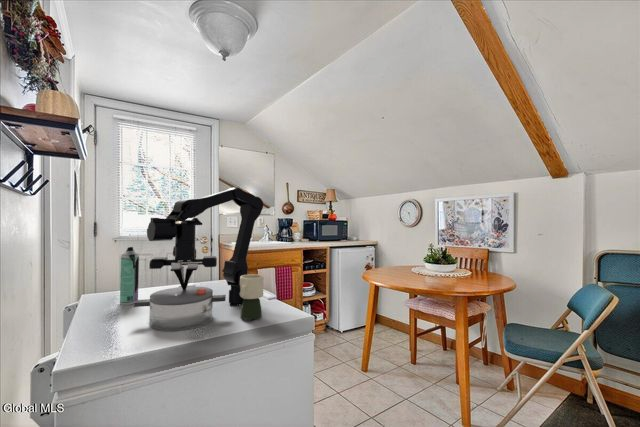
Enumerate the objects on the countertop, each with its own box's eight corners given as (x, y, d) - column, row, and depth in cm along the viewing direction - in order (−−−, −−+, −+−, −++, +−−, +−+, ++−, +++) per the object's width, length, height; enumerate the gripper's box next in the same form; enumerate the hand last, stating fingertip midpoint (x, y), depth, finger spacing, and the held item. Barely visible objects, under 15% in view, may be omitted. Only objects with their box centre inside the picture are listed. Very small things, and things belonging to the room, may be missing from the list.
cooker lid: (214, 287, 102) (214, 279, 102) (210, 302, 84) (211, 293, 84) (158, 290, 97) (159, 282, 98) (142, 307, 79) (142, 297, 79)
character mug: (250, 312, 99) (250, 272, 99) (269, 314, 97) (270, 273, 97) (231, 323, 88) (231, 278, 89) (252, 325, 86) (253, 280, 87)
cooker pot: (225, 309, 101) (225, 288, 101) (224, 326, 85) (225, 302, 85) (143, 315, 94) (144, 292, 94) (125, 335, 78) (126, 308, 78)
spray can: (141, 301, 109) (142, 246, 110) (127, 305, 104) (128, 248, 105) (130, 300, 111) (131, 246, 112) (116, 304, 106) (117, 247, 106)
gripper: (217, 238, 104) (217, 283, 104) (158, 238, 99) (157, 286, 99) (216, 240, 94) (215, 290, 93) (149, 240, 88) (148, 294, 88)
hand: (184, 290), depth 94 cm, fingers closed, pressing on cooker lid
